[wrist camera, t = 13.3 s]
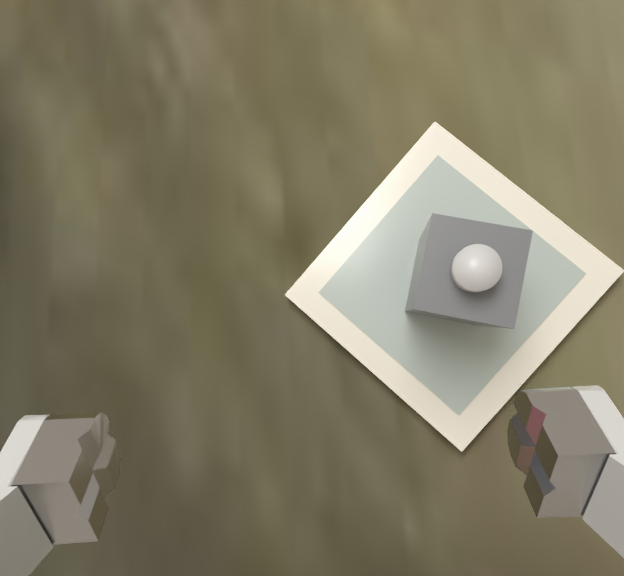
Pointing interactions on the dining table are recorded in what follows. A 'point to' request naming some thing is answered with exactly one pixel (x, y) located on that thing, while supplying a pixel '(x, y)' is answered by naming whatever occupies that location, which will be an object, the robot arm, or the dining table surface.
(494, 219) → the plate
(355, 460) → the dining table surface
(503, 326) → the plug
